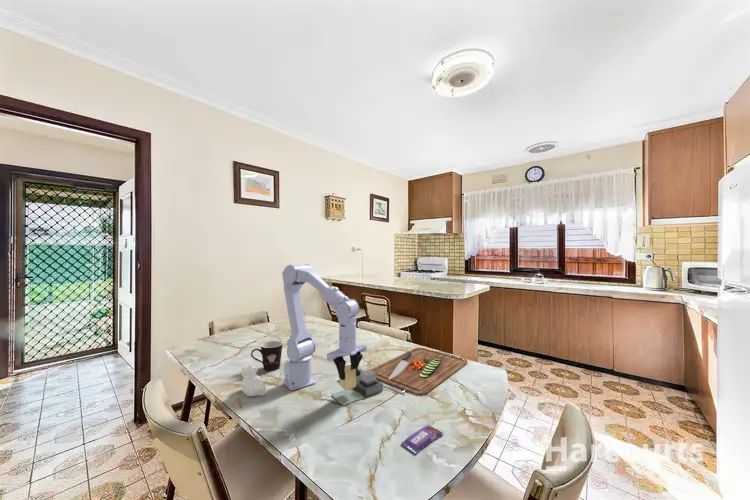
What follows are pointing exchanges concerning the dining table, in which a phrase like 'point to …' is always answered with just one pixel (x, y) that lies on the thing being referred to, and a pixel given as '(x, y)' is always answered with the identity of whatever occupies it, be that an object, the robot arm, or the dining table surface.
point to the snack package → (422, 438)
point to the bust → (252, 382)
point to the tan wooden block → (349, 378)
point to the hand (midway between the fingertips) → (347, 376)
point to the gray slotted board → (367, 390)
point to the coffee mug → (270, 355)
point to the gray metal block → (367, 378)
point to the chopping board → (418, 370)
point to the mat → (347, 396)
